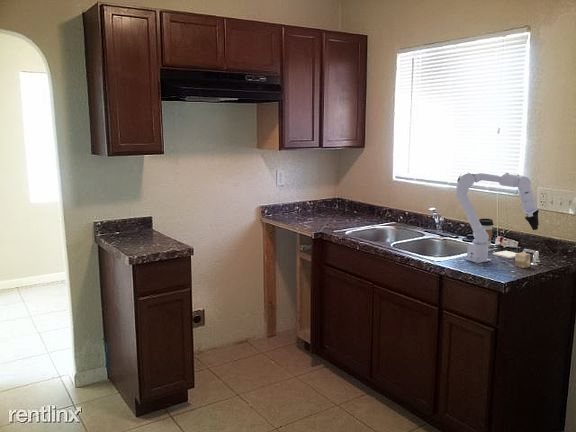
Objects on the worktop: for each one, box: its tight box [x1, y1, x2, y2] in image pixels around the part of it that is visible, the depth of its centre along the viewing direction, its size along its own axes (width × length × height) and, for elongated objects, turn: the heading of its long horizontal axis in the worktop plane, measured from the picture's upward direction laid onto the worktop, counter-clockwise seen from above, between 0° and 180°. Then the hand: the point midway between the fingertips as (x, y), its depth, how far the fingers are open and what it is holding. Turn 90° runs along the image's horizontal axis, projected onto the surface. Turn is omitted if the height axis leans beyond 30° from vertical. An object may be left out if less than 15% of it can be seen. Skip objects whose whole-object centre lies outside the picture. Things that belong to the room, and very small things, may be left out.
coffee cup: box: [478, 218, 494, 248], centre depth 279 cm, size 8×8×15 cm
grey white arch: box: [522, 248, 541, 266], centre depth 246 cm, size 9×13×5 cm
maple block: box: [514, 251, 531, 269], centre depth 238 cm, size 4×4×6 cm
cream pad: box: [492, 250, 517, 259], centre depth 260 cm, size 10×10×1 cm
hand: (535, 227), depth 242 cm, fingers open, 7 cm apart
